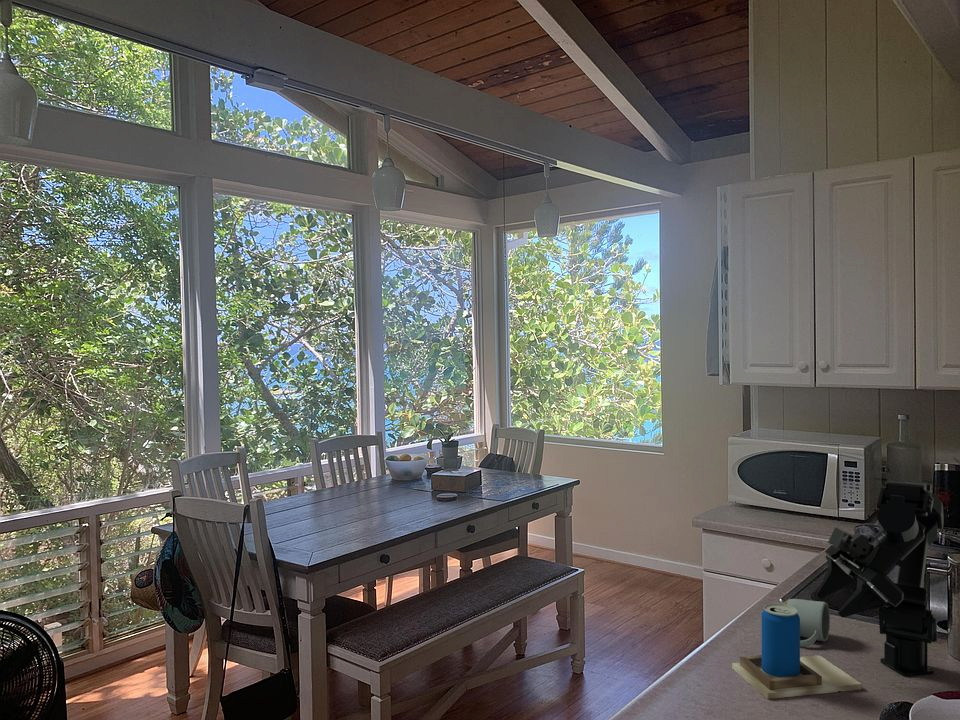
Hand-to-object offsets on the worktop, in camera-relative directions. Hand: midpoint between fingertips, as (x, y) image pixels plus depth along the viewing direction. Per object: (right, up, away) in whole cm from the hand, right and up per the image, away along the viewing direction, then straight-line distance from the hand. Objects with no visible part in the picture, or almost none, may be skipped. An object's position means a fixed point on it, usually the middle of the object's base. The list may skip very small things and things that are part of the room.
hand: (828, 606), depth 133 cm
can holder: (-6, -14, +1) cm, 15 cm away
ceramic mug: (+4, -13, +19) cm, 24 cm away
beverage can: (-8, -13, +1) cm, 15 cm away
